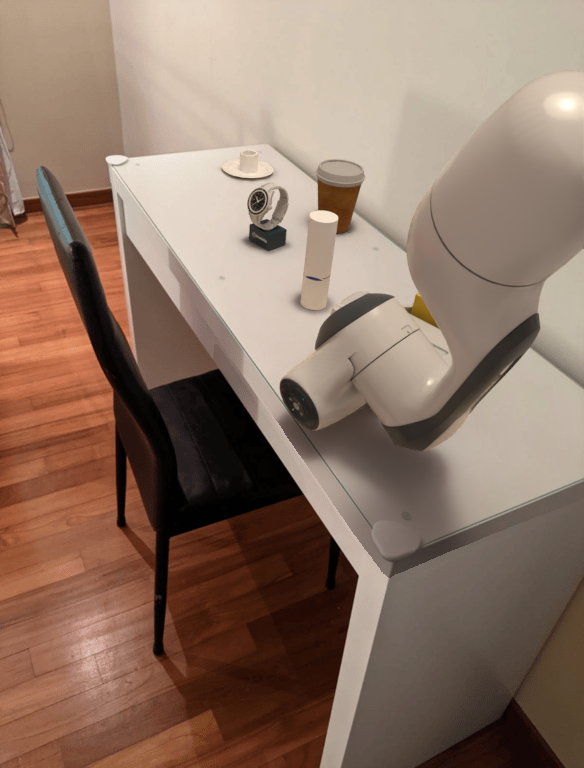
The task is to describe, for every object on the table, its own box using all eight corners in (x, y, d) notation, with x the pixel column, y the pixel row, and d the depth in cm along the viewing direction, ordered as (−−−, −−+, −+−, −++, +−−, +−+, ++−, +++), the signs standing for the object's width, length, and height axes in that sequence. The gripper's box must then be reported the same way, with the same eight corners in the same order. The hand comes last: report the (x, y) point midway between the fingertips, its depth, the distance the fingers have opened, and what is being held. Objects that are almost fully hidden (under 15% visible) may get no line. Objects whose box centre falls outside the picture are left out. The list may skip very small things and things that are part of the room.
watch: (240, 242, 114) (242, 185, 107) (272, 231, 119) (276, 176, 112) (260, 254, 111) (264, 195, 104) (292, 242, 116) (297, 186, 109)
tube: (318, 294, 102) (329, 209, 93) (331, 307, 99) (343, 220, 90) (295, 298, 100) (304, 212, 91) (307, 312, 98) (318, 224, 88)
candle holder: (234, 183, 136) (235, 164, 133) (213, 164, 144) (213, 145, 141) (282, 177, 141) (283, 159, 138) (259, 159, 149) (260, 141, 146)
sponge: (427, 360, 88) (442, 307, 83) (402, 346, 91) (415, 294, 85) (446, 347, 91) (462, 295, 86) (421, 334, 94) (435, 282, 88)
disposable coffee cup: (357, 219, 127) (366, 161, 119) (356, 239, 119) (366, 179, 112) (311, 213, 127) (318, 155, 119) (308, 233, 119) (314, 173, 112)
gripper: (451, 372, 73) (506, 330, 81) (323, 301, 83) (383, 270, 91) (439, 411, 77) (492, 367, 85) (318, 338, 87) (376, 306, 95)
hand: (435, 316), depth 88 cm, fingers closed on sponge, 4 cm apart
